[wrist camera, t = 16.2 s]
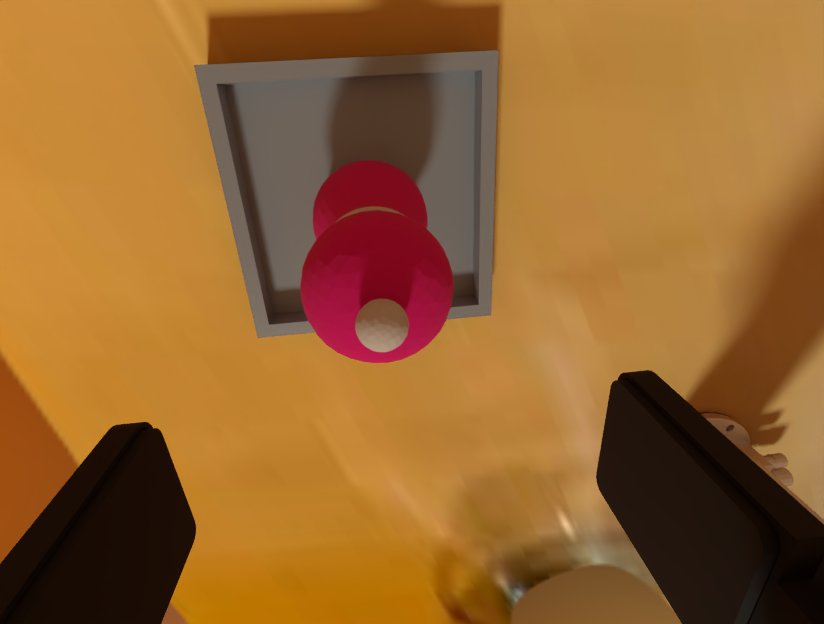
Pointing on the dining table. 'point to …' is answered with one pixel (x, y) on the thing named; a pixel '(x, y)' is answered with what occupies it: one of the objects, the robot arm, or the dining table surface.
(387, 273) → the pepper mill
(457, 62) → the tray
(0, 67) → the dining table surface
